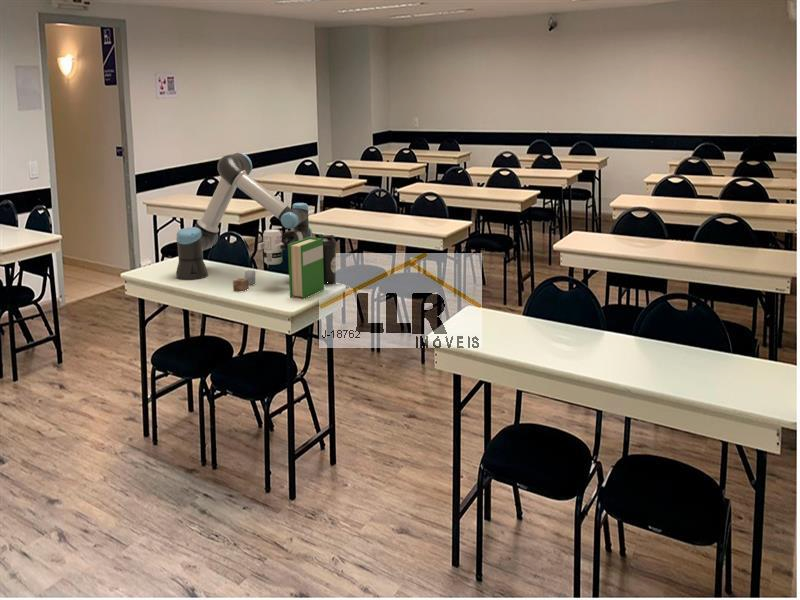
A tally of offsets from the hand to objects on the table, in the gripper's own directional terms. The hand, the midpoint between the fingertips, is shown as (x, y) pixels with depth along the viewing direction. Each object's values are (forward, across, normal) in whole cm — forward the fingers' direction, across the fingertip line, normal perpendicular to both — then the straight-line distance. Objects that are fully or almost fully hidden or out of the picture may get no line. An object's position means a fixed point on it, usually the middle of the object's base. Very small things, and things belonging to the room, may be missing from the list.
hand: (267, 247), depth 335 cm
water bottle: (-23, -18, -20) cm, 35 cm away
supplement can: (-5, 0, -8) cm, 9 cm away
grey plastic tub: (-8, +15, -20) cm, 26 cm away
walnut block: (+3, +13, -20) cm, 24 cm away
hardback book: (-3, -18, -20) cm, 27 cm away
